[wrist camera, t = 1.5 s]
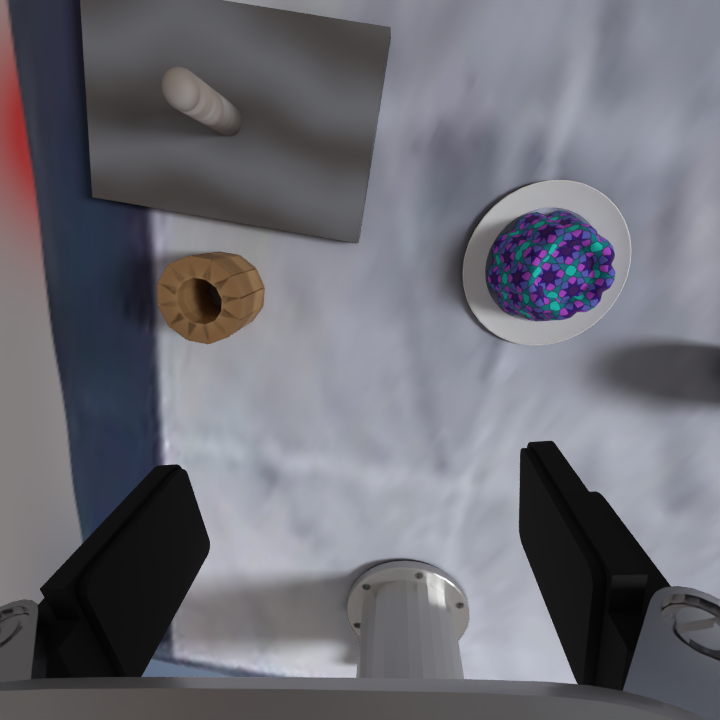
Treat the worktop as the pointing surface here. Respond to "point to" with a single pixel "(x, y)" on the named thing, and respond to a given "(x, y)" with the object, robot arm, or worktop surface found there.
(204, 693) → the robot arm
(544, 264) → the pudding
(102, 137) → the needle stand
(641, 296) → the worktop surface
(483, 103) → the worktop surface
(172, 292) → the bead
